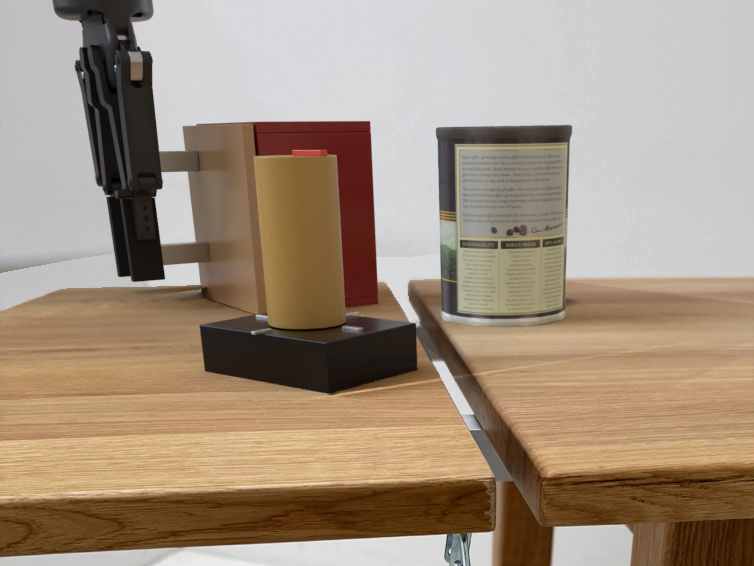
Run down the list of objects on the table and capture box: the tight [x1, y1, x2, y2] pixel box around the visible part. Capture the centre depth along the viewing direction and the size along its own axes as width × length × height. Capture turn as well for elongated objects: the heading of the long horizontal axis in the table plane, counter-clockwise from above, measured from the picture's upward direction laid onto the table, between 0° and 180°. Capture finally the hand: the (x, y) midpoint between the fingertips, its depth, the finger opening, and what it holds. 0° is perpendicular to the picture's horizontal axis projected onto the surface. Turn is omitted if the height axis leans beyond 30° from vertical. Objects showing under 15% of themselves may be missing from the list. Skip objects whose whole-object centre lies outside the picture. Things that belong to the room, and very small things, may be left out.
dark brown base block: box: [199, 310, 418, 396], centre depth 64 cm, size 11×9×3 cm
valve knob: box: [254, 150, 347, 329], centre depth 61 cm, size 5×5×10 cm
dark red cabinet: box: [195, 120, 379, 309], centre depth 89 cm, size 10×14×15 cm
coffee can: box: [435, 124, 573, 328], centre depth 80 cm, size 10×10×14 cm
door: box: [159, 124, 267, 315], centre depth 85 cm, size 7×14×14 cm, turn 33°
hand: (141, 277), depth 89 cm, fingers open, 3 cm apart
